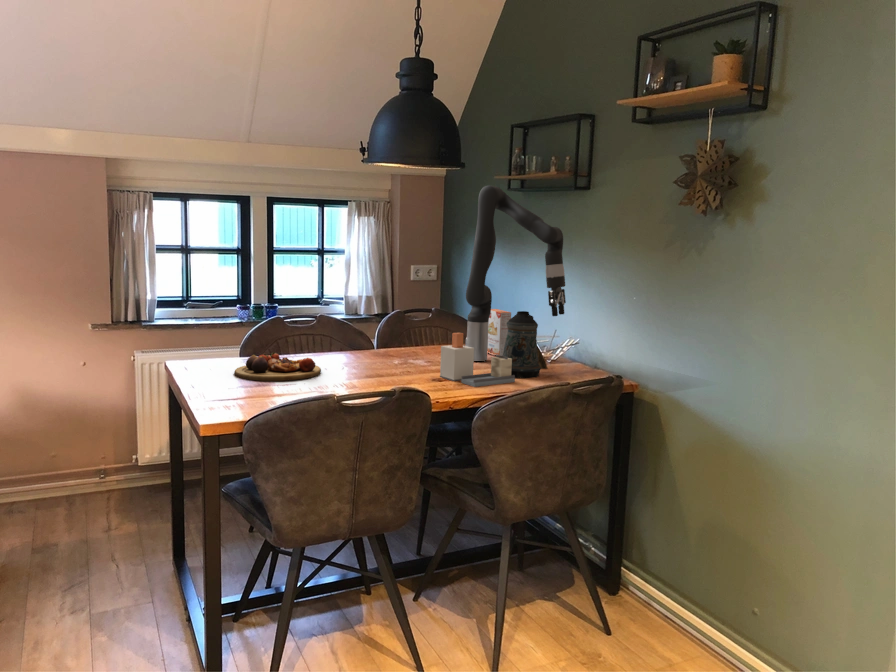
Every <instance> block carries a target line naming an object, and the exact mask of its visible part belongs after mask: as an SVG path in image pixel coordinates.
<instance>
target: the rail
mask: <svg viewBox="0 0 896 672" xmlns="http://www.w3.org/2000/svg"><path fill="white" fill-rule="evenodd" d="M460 382H461V384H464V385H467V386H471V387H474V388H476V387H483V386H484V387H485V386H493V385H502V384H509V383H510V384H511V383H515V382H516V378H515V375H511V376H502V377H495V376H491V372H489V373H478V374H473V375H468V376H462V380H461V381H460Z"/></svg>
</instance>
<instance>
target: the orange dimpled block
mask: <svg viewBox="0 0 896 672" xmlns="http://www.w3.org/2000/svg"><path fill="white" fill-rule="evenodd" d="M451 337H452V340H451V345H452V347H454V348H463V345H464V333H463V332H452V336H451Z"/></svg>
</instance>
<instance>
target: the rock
mask: <svg viewBox="0 0 896 672" xmlns="http://www.w3.org/2000/svg"><path fill="white" fill-rule="evenodd" d="M540 349H541V348H539V346H538V345H537V353H538V361H539V365H540V368H541V369H542V370H544V369H548V365H547V362H546V361H547V360H546V359H545V357H544V356H543V354H542V351H541V350H540ZM541 369H540V370H541Z"/></svg>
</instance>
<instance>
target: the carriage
mask: <svg viewBox="0 0 896 672" xmlns="http://www.w3.org/2000/svg"><path fill="white" fill-rule="evenodd" d="M490 361H491V362H490V363H491V364H490V365H491V367H490V373H491V376H495V377H502V376H511V369H512V359H511V358H508V357H505V356H501V355H496V356H491V360H490Z"/></svg>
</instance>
